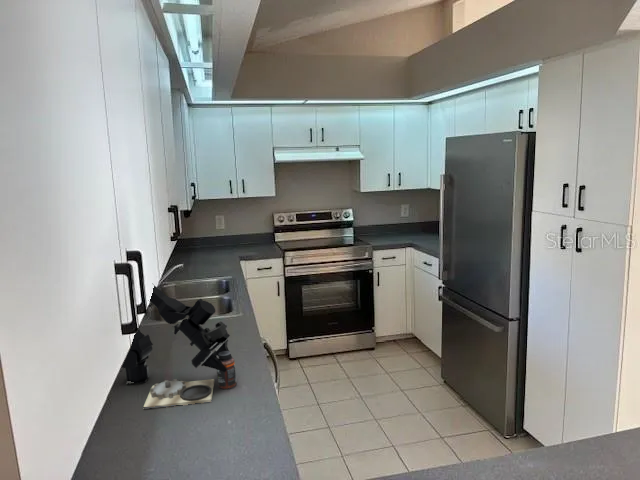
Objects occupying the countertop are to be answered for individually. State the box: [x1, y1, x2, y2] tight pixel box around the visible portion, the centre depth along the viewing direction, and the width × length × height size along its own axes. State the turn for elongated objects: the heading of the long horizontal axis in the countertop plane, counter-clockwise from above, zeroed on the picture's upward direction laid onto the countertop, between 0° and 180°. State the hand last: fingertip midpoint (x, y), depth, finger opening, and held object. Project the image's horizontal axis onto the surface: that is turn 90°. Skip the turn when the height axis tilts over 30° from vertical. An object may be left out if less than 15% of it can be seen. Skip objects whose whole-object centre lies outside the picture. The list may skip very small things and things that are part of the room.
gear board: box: [143, 378, 215, 407], centre depth 153 cm, size 20×14×4 cm
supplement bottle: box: [216, 350, 237, 390], centre depth 158 cm, size 6×6×11 cm
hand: (229, 366), depth 158 cm, fingers closed on supplement bottle, 6 cm apart
